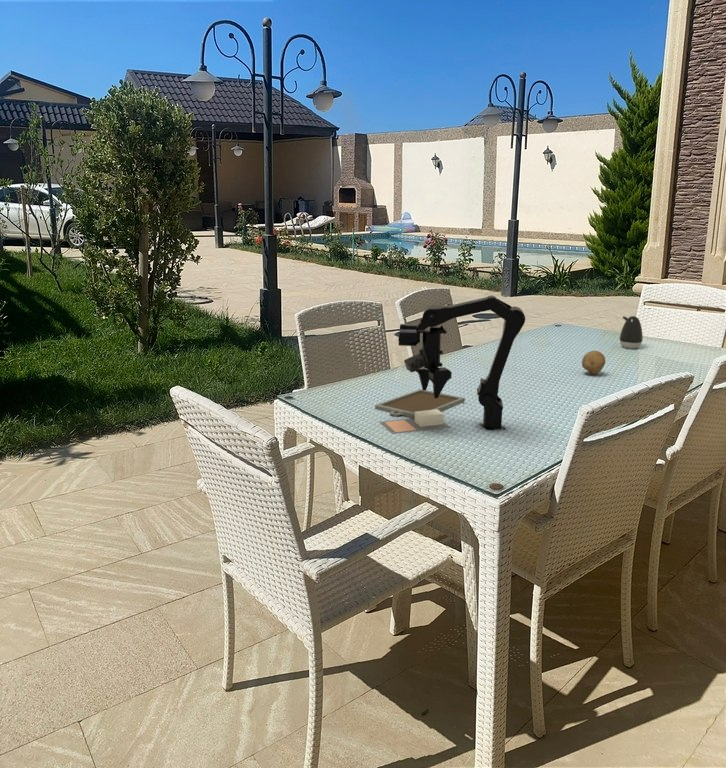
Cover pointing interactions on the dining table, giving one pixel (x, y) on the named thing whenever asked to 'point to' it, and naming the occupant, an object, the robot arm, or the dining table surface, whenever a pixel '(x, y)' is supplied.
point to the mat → (408, 426)
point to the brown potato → (593, 362)
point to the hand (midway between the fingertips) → (430, 394)
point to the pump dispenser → (631, 333)
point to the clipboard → (418, 403)
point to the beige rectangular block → (429, 417)
